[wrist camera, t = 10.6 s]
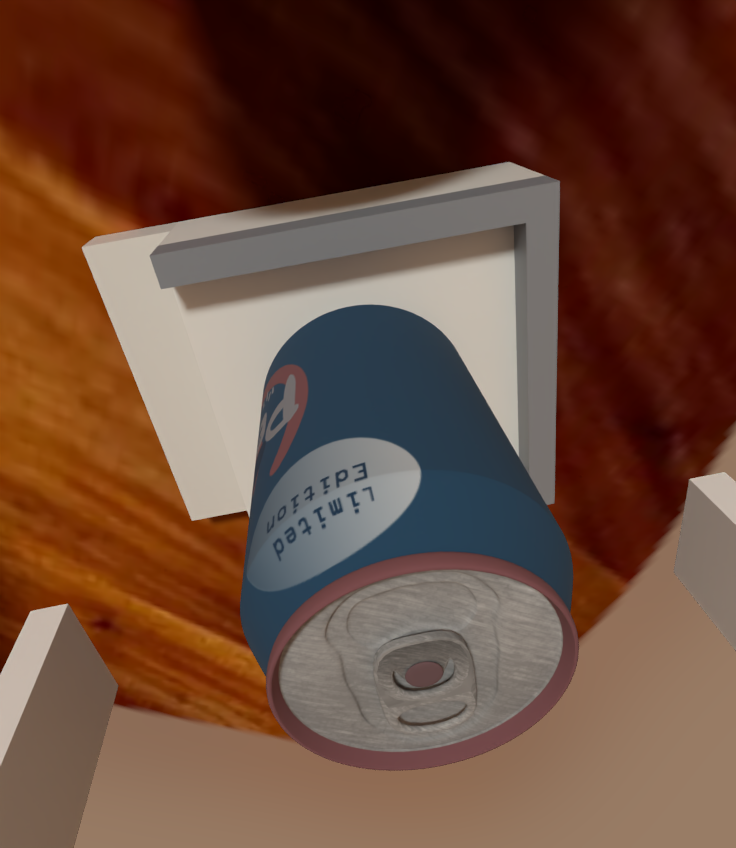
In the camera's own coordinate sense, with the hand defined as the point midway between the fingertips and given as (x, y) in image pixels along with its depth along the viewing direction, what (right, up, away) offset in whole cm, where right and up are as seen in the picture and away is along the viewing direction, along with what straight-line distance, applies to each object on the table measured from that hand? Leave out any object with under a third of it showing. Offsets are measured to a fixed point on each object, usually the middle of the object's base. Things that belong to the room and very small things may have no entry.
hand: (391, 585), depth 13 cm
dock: (-2, +6, +11) cm, 13 cm away
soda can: (-1, +5, +8) cm, 10 cm away
